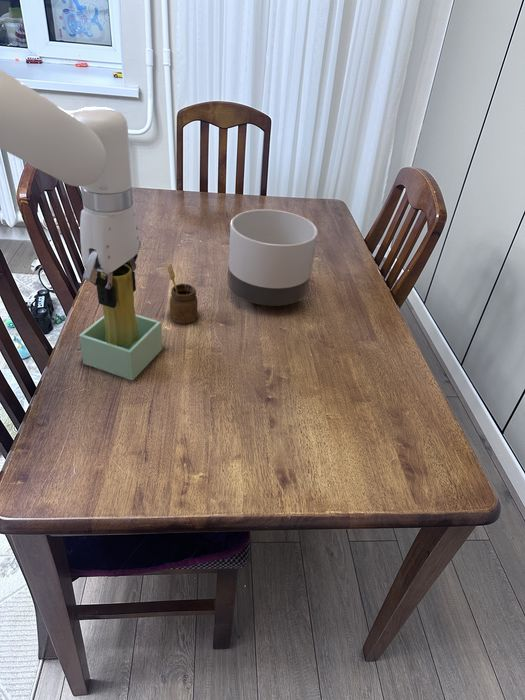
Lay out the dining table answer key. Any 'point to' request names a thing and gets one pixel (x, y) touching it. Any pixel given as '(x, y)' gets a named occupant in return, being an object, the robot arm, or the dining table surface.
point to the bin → (121, 348)
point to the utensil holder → (182, 301)
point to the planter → (270, 256)
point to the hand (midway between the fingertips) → (117, 296)
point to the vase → (121, 309)
